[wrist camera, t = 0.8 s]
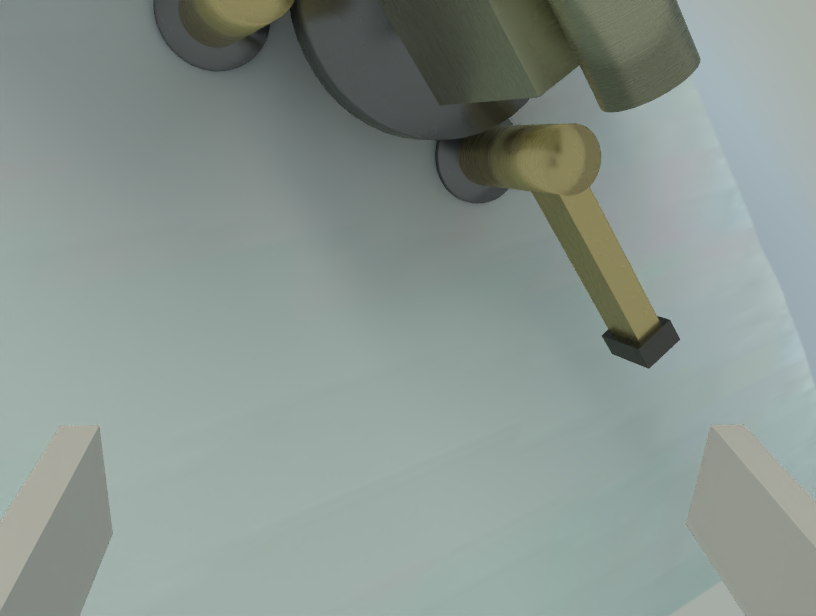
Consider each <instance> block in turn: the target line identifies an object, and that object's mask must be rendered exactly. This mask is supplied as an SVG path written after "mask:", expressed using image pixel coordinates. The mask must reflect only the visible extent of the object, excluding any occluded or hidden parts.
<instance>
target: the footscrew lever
mask: <svg viewBox="0 0 816 616" xmlns="http://www.w3.org/2000/svg"><path fill="white" fill-rule="evenodd" d="M600 163H601V151H600V146H599V143H598V141H597V138H596V137H595V135H594V134H593V133H592V132H591V131H590V130H589V129H588V128H587V127H585V126H583V125H580V124H539V125H500V126H495V127H493V128H491V129H489V130H487V131H485V132H482V133H479V134H476V135H473V136H469V137H465V138H464V139H463V141H462V143H461V146H460V149H459V164H460V168H461V170H462V172H463V174H464V175H465V177H466V178H467V179H468V180H469V181H471V182H472V183H474V184H477V185H482V186H491V187H499V188H508V189H516V190H525V191H531V192H532V194H533V195H534V197H535V199H536V201H537V202H538V204H539V206H540V208H541V210H542V211H543V213H544V215H545V217H546V219H547V220H548V222H549V224H550V226H551V227H552V229H553V231H554V233H555V235H556V236H557V238H558V240H559V242H560V243H561V245H562V247H563V249H564V251H565V252H566V254H567V256H568V258H569V260H570V261H571V263H572V265H573V267H574V268H575V270H576V272H577V274H578V276H579V277H580V279H581V281H582V283H583V285H584V286H585V288H586V290H587V292H588V293H589V295H590V297H591V299H592V301H593V302H594V304H595V306H596V308H597V310H598V311H599V313H600V315H601V317H602V318H603V320H604V322H605V324H606V326H607V327H608V330H607V331H606V332H605V333H604V334H603V335H602V337H603V339H604V340H605V342H606V344H607V346H608V348H609V349H610V351H611V353H612V354H614V355H616V356H619V357H621V358H624V359H626V360H629V361H631V362H634V363H636V364H639V365H641V366H644V367H646V368H650V367H651V366H652V365H653V364H654V363H656V362H657V361H658V360H659V359H660V358H661V357H662V356H663V355H664V354H665V353H666V352H667V351H668V350H669V349H670V348H672V347H673V346H674V345H675V344H676V343H677V342H678V341H679V340H680V338H679V337H678V335H677V333H676V331H675V329H674V327H673V325H672V323H671V321H670V320H668V319H665V318H662V317H659V316H657V315H656V313H655V311H654V310H653V308H652V306H651V304H650V302H649V300H648V298H647V296H646V294H645V292H644V290H643V288H642V286H641V285H640V283H639V281H638V279H637V277H636V275H635V273H634V271H633V269H632V267H631V265H630V263H629V261H628V260H627V258H626V256H625V254H624V252H623V250H622V248H621V246H620V244H619V242H618V240H617V238H616V236H615V235H614V233H613V231H612V229H611V227H610V225H609V223H608V221H607V219H606V217H605V215H604V213H603V211H602V210H601V208H600V206H599V204H598V202H597V200H596V198H595V196H594V194H593V192H592V190H591V188H590V185H591V184H592V183H593V182H594V180H595V178H596V176H597V174H598V172H599V168H600Z"/></svg>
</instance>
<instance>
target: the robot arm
mask: <svg viewBox="0 0 816 616" xmlns="http://www.w3.org/2000/svg"><path fill="white" fill-rule="evenodd" d="M686 525H687V527H688V528H689V530H690V531H691V533H692V534H693V536H694V537H695V539H696V540H697V542H698V544H699V545H700V547H701V548H702V550H703V551H704V553H705V554H706V556H707V557H708V559H709V561H710V562H711V564H712V565H713V567H714V568H715V570H716V571H717V573H718V574H719V576H720V577H721V579H722V581H723V582H724V584H725V585H726V587H727V588H728V590H729V591H730V593H731V594H732V596H733V597H734V599H735V601H736V602H737V604H738V605H739V607H740V608H741V610H742V611H743V613H744V614H745V616H816V503H815V501H814V500H813V499H812V498H811V497H810V496H809V495H808V494H807V493H806V492H805V491H804V490H803V488H802V487H801V486H800V485H799V484H798V483H797V482H796V481H795V480H794V479H793V478H792V477H791V475H790V474H789V473H788V472H787V471H786V470H785V469H784V468H783V467H782V466H781V465H780V464H779V463H778V461H777V460H776V459H775V458H774V457H773V456H772V455H771V454H770V453H769V452H768V451H767V450H766V448H765V447H764V446H763V445H762V444H761V443H760V442H759V441H758V440H757V439H756V438H755V437H754V435H753V434H752V433H751V432H750V431H749V430H748V429H747V428H746V427H745V426H744V425H711V426H710V430H709V434H708V438H707V442H706V446H705V450H704V454H703V458H702V462H701V466H700V470H699V474H698V478H697V482H696V486H695V490H694V495H693V499H692V503H691V507H690V511H689V515H688V519H687V523H686ZM112 534H113V532H112V524H111V516H110V508H109V500H108V492H107V484H106V476H105V468H104V460H103V452H102V444H101V436H100V428H99V426H60V427H59V428H58V430H57V432H56V433H55V435H54V436H53V438H52V440H51V441H50V443H49V444H48V446H47V448H46V449H45V451H44V452H43V454H42V456H41V457H40V459H39V460H38V462H37V464H36V465H35V467H34V469H33V470H32V472H31V473H30V475H29V477H28V478H27V480H26V481H25V483H24V485H23V486H22V488H21V489H20V491H19V493H18V494H17V496H16V497H15V499H14V501H13V502H12V504H11V506H10V507H9V509H8V510H7V512H6V514H5V515H4V517H3V518H2V520H1V522H0V616H80V613H81V611H82V608H83V606H84V603H85V601H86V598H87V596H88V593H89V591H90V588H91V586H92V583H93V581H94V579H95V576H96V574H97V571H98V569H99V566H100V564H101V561H102V559H103V556H104V554H105V551H106V549H107V546H108V544H109V541H110V539H111V537H112Z"/></svg>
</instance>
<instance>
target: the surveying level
mask: <svg viewBox="0 0 816 616" xmlns="http://www.w3.org/2000/svg"><path fill="white" fill-rule="evenodd" d="M289 9H290V13H291V18H292V22H293V25H294V29H295V32H296V36H297V39H298V41H299V44H300V46H301V48H302V51H303V53H304V55H305V58H306V59H307V61H308V63H309V65H310V66H311V68H312V70H313V72H314V73H315V75H316V77H317V78H318V79H319V81H320V82H321V83H322V85H323V86H324V87H325V89H326V90H327V91H328V92H329V93H330V94H331V96H332V97H333V98H334V99H335V100H336V101H337V102H338V103H339V104H340V105H341V106H342V107H344V108H345V109H346V110H347V111H349V112H350V113H351V114H352V115H354V116H355V117H356V118H358V119H360V120H361V121H363V122H365V123H366V124H368V125H369V126H371V127H374V128H376V129H378V130H381V131H383V132H385V133H388V134H392V135H395V136H399V137H403V138H411V139H421V140H438V142H437V146H436V167H437V171H438V174H439V177H440V179H441V181H442V183H443V184H444V186H445V187H446V189H447V190H448V191H449V192H450V193H451V194H453V195H454V196H455V197H457V198H459V199H461V200H463V201H467V202H472V203H485V202H489V201H492V200H494V199H496V198H498V197H500V196H501V195H502V194H504V193H505V192H506V191H507V190H508V188H499V187H491V186H482V185H477V184H474V183H472V182H471V181H469V180H468V179H467V178H466V177H465V175H464V174H463V172H462V170H461V168H460V164H459V149H460V146H461V143H462V141H463V139H464V138H465V137H469V136H473V135H476V134H479V133H482V132H485V131H487V130H489V129H491V128H493V127H495V126H500V125H513V124H512V123H511V122H510V120H509V119H508V118H509V117H511V116H512V115H514V114H515V113H516V112H517V111H518V110H519V109H520V108H521V107H522V106H523V105H524V104H526V102H527V101H528V100H529V99H530V98H536V97H540V96H541V95H542V94H544V93H545V92H546V91H547V90H549V89H550V88H551V87H552V86H554V85H555V84H556V83H557V82H559V81H560V80H561V79H562V78H564V77H565V76H566V75H567V74H569V73H570V72H571V71H572V70H574V69H575V68H576V67H577V66H579V65H580V67H581V69H582V71H583V73H584V75H585V77H586V79H587V81H588V84H589V86H590V88H591V90H592V92H593V94H594V96H595V98H596V100H597V102H598V104H599V106H600V108H601V110H603V111H605V112H619V111H624V110H628V109H631V108H635V107H637V106H640V105H643V104H645V103H647V102H650V101H652V100H654V99H656V98H658V97H660V96H662V95H663V94H665V93H667V92H669V91H670V90H672V89H673V88H675V87H676V86H678V85H679V84H681V83H682V82H683V81H684V80H686V79H687V78H688V77H689V76H690V75H691V74H692V73H693V72H694V71H695V70H696V68H697V67H698V65H699V63H700V57H699V54H698V52H697V49H696V47H695V44H694V42H693V39H692V37H691V35H690V32H689V30H688V27H687V25H686V22H685V20H684V18H683V15H682V13H681V11H680V8H679V6H678V3H677V1H676V0H154V13H155V18H156V22H157V25H158V28H159V31H160V33H161V35H162V37H163V38H164V40H165V41H166V43H167V44H168V46H169V47H170V48H171V49H172V51H174V52H175V53H176V54H177V55H178V56H179V57H180V58H182V59H183V60H184V61H186V62H188V63H189V64H191V65H193V66H195V67H198V68H201V69H204V70H210V71H226V70H231V69H235V68H237V67H239V66H242V65H244V64H245V63H247V62H249V61H250V60H251V59H252V58H254V57H255V56H256V54H257V53H258V52H259V51H260V49H261V48H262V46H263V45H264V43H265V41H266V38H267V35H268V32H269V27H270V23H272V22H273V21H275V20H277V19H279V18H280V17H282V16H283V15H284V14H285V13H286V12H287V11H288V10H289Z"/></svg>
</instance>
